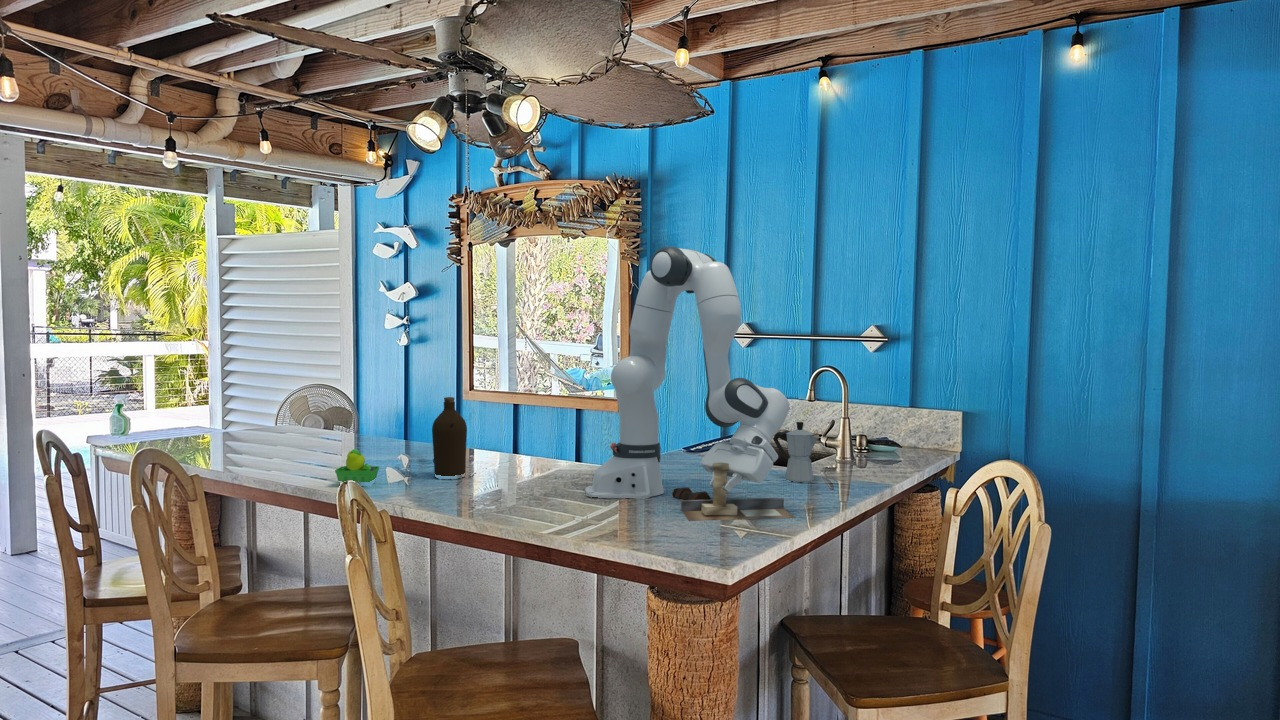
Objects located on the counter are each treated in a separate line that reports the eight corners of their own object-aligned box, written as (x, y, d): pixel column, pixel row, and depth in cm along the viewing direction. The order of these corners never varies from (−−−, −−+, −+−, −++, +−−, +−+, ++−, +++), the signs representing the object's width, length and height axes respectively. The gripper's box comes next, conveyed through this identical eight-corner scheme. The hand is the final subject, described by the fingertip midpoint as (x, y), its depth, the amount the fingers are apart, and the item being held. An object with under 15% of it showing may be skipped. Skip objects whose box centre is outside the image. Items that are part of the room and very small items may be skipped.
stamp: (704, 515, 201) (706, 464, 200) (701, 511, 205) (702, 462, 204) (737, 515, 202) (738, 465, 202) (733, 511, 206) (734, 462, 206)
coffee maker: (824, 480, 255) (824, 421, 254) (814, 484, 248) (815, 424, 247) (778, 475, 263) (778, 418, 262) (767, 479, 255) (768, 421, 255)
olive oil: (474, 476, 260) (473, 397, 259) (447, 481, 252) (446, 399, 251) (452, 472, 267) (451, 395, 266) (425, 477, 259) (424, 397, 258)
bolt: (679, 507, 227) (705, 517, 213) (664, 499, 225) (690, 508, 211) (688, 487, 228) (715, 496, 214) (674, 479, 226) (699, 488, 212)
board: (688, 527, 197) (688, 510, 196) (680, 515, 209) (680, 499, 208) (795, 523, 200) (795, 507, 200) (781, 512, 212) (781, 496, 211)
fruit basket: (380, 482, 251) (380, 445, 251) (372, 488, 243) (371, 450, 242) (342, 482, 251) (341, 445, 250) (332, 488, 242) (331, 450, 242)
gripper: (713, 432, 215) (684, 474, 210) (770, 441, 199) (740, 486, 193) (726, 447, 218) (698, 489, 213) (783, 457, 202) (754, 503, 196)
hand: (718, 488), depth 203 cm, fingers closed on stamp, 3 cm apart
